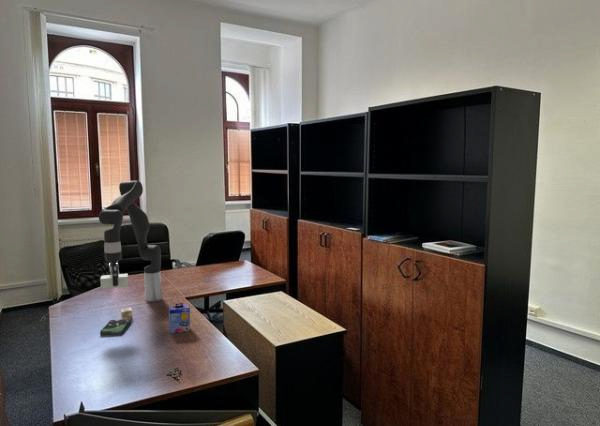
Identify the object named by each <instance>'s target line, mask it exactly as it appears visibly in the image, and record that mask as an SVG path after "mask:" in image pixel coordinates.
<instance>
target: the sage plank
mask: <svg viewBox="0 0 600 426" xmlns="http://www.w3.org/2000/svg"><path fill="white" fill-rule="evenodd" d="M114 276H117V275H116V274H115V275H114ZM118 276H119V277H118V286H113V279H112V275H111V274H106V275H101V276H100V279H99V280H100V281H99V282H100V289H101V290H107V289H116V288H118V289H119V288H127V287H129V274H128V273H118Z"/></svg>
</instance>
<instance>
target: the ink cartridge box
mask: <svg viewBox="0 0 600 426" xmlns="http://www.w3.org/2000/svg"><path fill="white" fill-rule="evenodd" d="M190 314H191V308H190V306H189V304H184V303H183V302H180V303H175V305H172V306H168V324H169V325H168V328H169V333H171V334H176V333H175V332H178V333H184V332H183V331H185V332H190V331H191V318H190V317H191V316H190ZM189 330H190V331H189Z"/></svg>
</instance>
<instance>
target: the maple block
mask: <svg viewBox="0 0 600 426" xmlns="http://www.w3.org/2000/svg"><path fill="white" fill-rule="evenodd" d="M120 316H121V317H120V318H121V319H120V320H131V319H132V320H133V309H132V308H131V307H125V308H121V309H120ZM132 320H131V321H132Z"/></svg>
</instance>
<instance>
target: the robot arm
mask: <svg viewBox="0 0 600 426" xmlns="http://www.w3.org/2000/svg"><path fill="white" fill-rule="evenodd" d="M118 188H119V192H120V193H119V194H120V196H118V197H117V198H115V199H114V200H113V201H112V203H111V204H110V205H108V206H106V207H104V208H103V209H102V210H101V211H100V212H99V214H98V221H99V223H100V224H102V225H113V227H112V228H108V229H106V230H105V231H103V238H104V243H103V245H104V246H103V249H104V260H105V262H108V263H109V264H108V267H109V272H110V275H112V279H113V286H118V277H119V276H118V274H120V273H119V272H120V271H119V267H120V265H119V263H118V262H119V261H122V259H123V257H122V256H123V255H122V254H123V253H122V244H121V230H122V229H121V228H122V223H123V220H124V214H125V211H127V213H128V216H129V220H130V223H131V226H132V229H133V232H134V235H135V239H136V243H137V246H138V252H139V256H140V258H141V259H142V260H144V261H149V262H150V264H149V265H147V266H145V267H144V268H143V277H144V280H143V281H144V299H145V302H149V303H150V302H152V303H153V302H158V301H161V300H163V290H162V289H163V287H162V285H163V283H162V280H161V279H162V278H161V267H162V249H161V247H160V245H156V244H149V243H148V241H147V237H148V233H149V230H150V227H151V224H150V221H149V218H148V215H147V213H146V212H145V211H144V210H142V208H140V207H139V205H137V204H136V203H135V201H137V200H138V199H139V198H140V197H142V195H143V191H144V189H143V184H142V182H141V181H139V180H127V181H126V180H125V181H121V182H120V183H119V185H118ZM114 275H117V276H114Z"/></svg>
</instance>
